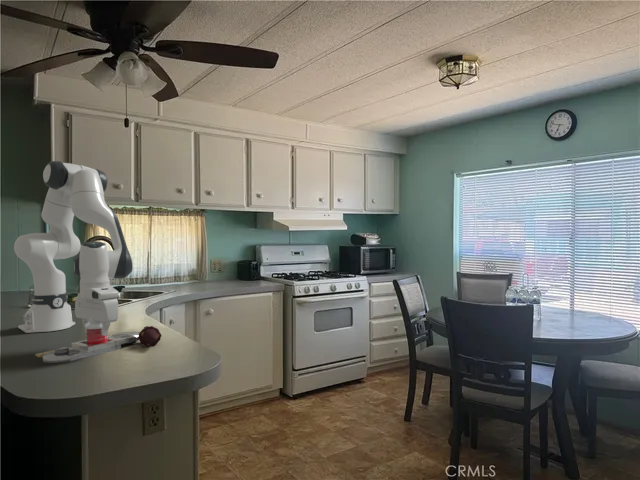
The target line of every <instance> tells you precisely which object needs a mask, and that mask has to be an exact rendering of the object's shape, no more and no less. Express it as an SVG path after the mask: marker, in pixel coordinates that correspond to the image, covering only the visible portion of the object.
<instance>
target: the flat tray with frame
mask: <svg viewBox="0 0 640 480" xmlns="http://www.w3.org/2000/svg"><path fill="white" fill-rule="evenodd" d="M140 332H141V331H123V332H118V333H113V334H108V342H104V343H100V344H95V345H87V339H84V340H79V341H75V342H71V347H67V346H65V347H58V348H55V349H53V350H54V352H50V353H47V354H45V355H43V357H42V363H44V364H63V363H68V362H72V361H76V360H81V359H85V358H89V357H93V356H97V355H102V354H105V353H110V352H113V351H117V350H121V349H122V346H130V345H136V344H137V343H138V341H139V338H138V336H139V333H140Z"/></svg>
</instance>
